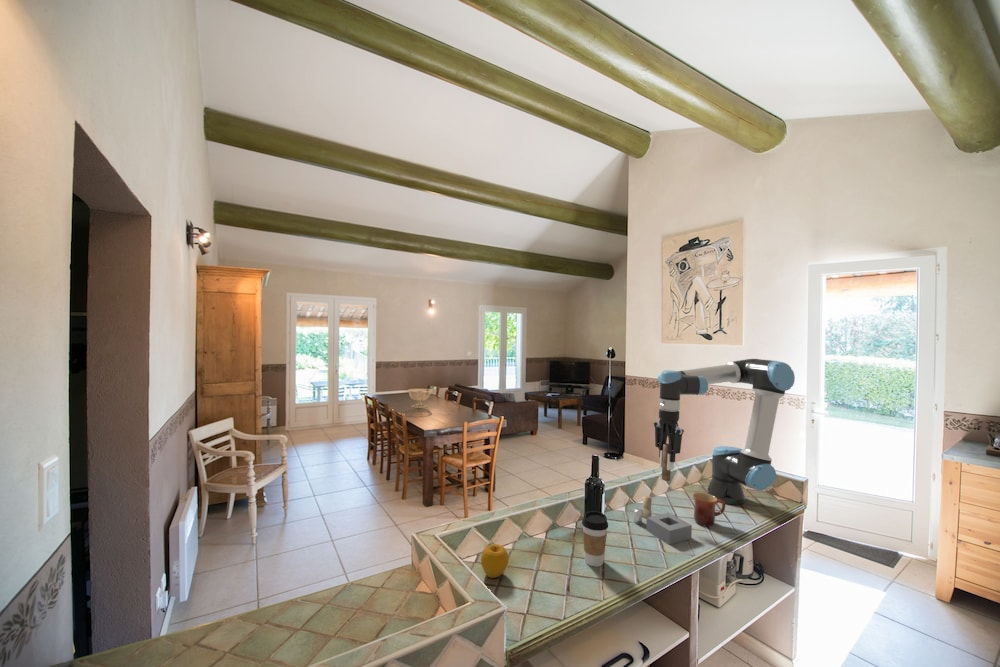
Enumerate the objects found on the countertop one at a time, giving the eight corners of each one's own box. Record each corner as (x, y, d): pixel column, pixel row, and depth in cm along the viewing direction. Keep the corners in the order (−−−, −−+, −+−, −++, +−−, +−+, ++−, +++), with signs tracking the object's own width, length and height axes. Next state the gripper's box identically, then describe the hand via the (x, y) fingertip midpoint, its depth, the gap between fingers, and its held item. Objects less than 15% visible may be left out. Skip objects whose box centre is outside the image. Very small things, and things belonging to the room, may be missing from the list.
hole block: (667, 525, 163) (668, 512, 162) (691, 538, 153) (691, 525, 153) (646, 530, 158) (646, 517, 158) (669, 544, 148) (669, 530, 148)
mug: (696, 527, 161) (697, 501, 161) (688, 516, 170) (689, 492, 170) (729, 529, 160) (730, 503, 160) (719, 519, 169) (720, 493, 169)
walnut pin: (665, 477, 169) (667, 443, 168) (672, 480, 166) (673, 445, 165) (659, 478, 167) (661, 443, 167) (666, 481, 164) (667, 446, 164)
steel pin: (638, 520, 166) (638, 507, 166) (644, 523, 163) (644, 511, 163) (631, 521, 165) (632, 509, 165) (637, 525, 162) (638, 512, 162)
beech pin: (646, 514, 171) (647, 495, 171) (652, 517, 168) (653, 498, 168) (640, 515, 170) (641, 496, 170) (646, 519, 167) (647, 499, 167)
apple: (499, 587, 122) (499, 557, 122) (474, 578, 126) (475, 549, 126) (512, 572, 129) (513, 544, 129) (489, 564, 134) (489, 537, 133)
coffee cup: (608, 557, 139) (609, 512, 139) (605, 571, 131) (607, 524, 131) (582, 552, 142) (584, 508, 141) (579, 565, 134) (580, 519, 133)
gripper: (647, 406, 172) (644, 462, 172) (678, 414, 157) (675, 476, 157) (660, 405, 175) (658, 460, 175) (692, 413, 160) (690, 473, 160)
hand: (666, 467), depth 166 cm, fingers closed on walnut pin, 3 cm apart
